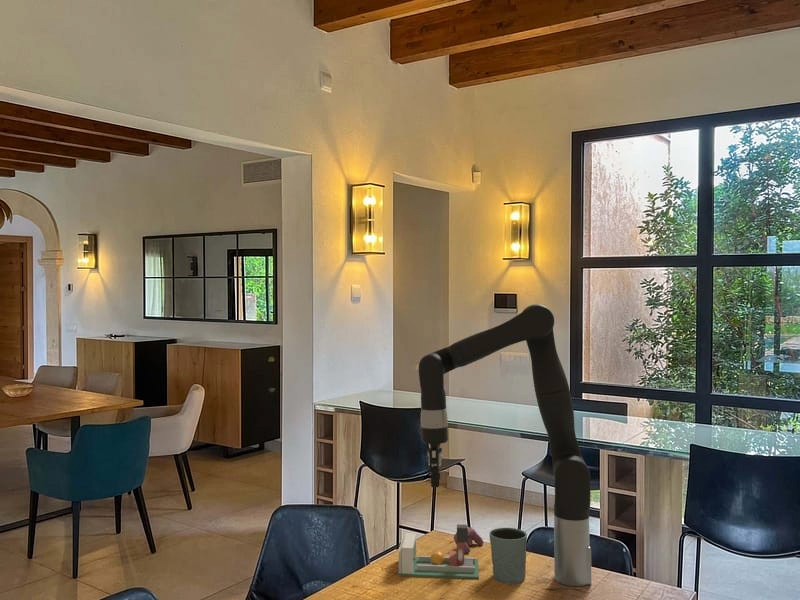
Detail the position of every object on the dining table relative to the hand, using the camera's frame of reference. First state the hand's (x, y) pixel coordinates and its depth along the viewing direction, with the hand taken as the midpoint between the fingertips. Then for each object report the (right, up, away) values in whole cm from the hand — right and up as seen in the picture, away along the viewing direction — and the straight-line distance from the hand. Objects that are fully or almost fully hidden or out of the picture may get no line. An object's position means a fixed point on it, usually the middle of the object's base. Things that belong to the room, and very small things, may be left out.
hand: (436, 483), depth 183 cm
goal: (-7, -25, +3) cm, 26 cm away
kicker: (+8, -25, +1) cm, 26 cm away
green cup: (+19, -25, -5) cm, 32 cm away
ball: (+1, -22, +2) cm, 22 cm away
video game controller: (+11, -25, +18) cm, 33 cm away
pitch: (+1, -25, +2) cm, 25 cm away
